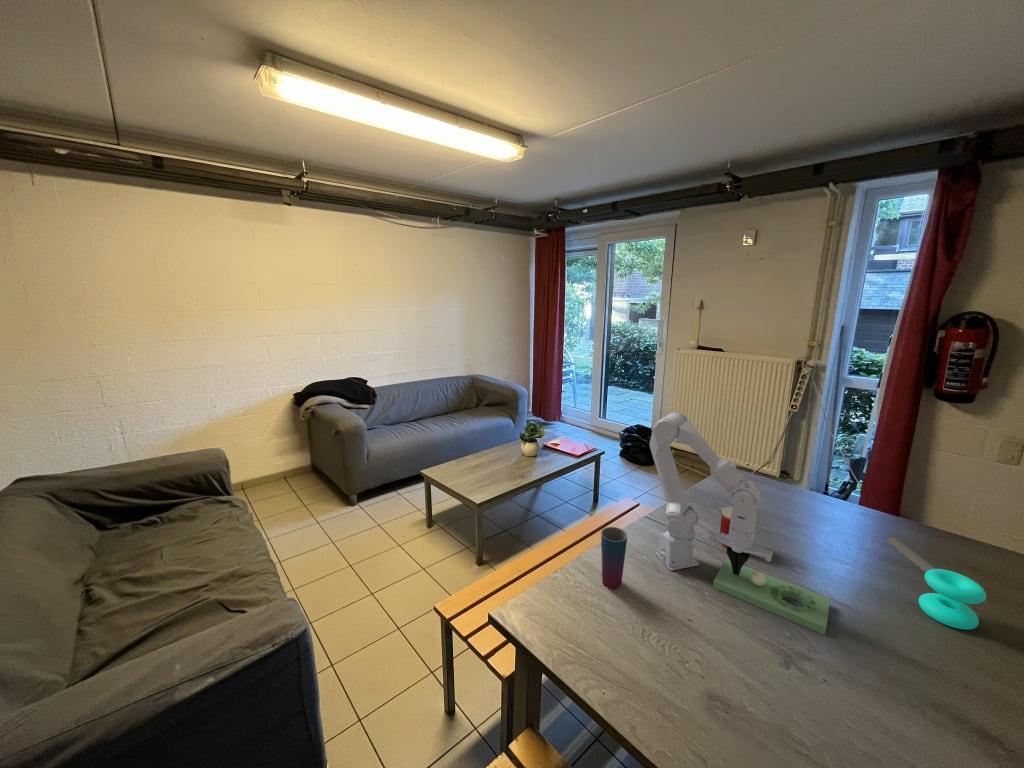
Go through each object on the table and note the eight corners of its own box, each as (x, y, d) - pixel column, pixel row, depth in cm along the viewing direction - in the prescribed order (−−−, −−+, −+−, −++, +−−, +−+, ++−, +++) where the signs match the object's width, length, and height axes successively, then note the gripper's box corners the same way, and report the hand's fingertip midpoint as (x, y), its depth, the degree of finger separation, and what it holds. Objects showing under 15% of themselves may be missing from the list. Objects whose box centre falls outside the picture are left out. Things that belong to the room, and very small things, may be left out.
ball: (757, 590, 104) (758, 578, 104) (746, 580, 108) (747, 569, 107) (768, 587, 105) (769, 575, 104) (757, 578, 108) (758, 567, 108)
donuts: (943, 563, 102) (998, 590, 92) (934, 597, 104) (988, 627, 95) (915, 570, 99) (969, 599, 90) (907, 605, 101) (959, 637, 92)
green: (712, 587, 108) (713, 580, 108) (724, 564, 117) (725, 558, 117) (825, 635, 93) (826, 627, 92) (828, 605, 102) (830, 598, 101)
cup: (595, 586, 109) (597, 537, 106) (602, 571, 115) (604, 524, 111) (621, 595, 106) (624, 544, 102) (627, 579, 112) (630, 530, 108)
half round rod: (899, 542, 128) (900, 537, 127) (954, 585, 109) (956, 580, 108) (884, 541, 128) (885, 536, 128) (936, 584, 109) (938, 578, 109)
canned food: (752, 552, 122) (756, 520, 120) (724, 551, 123) (727, 519, 121) (742, 537, 130) (745, 506, 127) (715, 536, 131) (718, 505, 128)
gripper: (708, 524, 108) (703, 568, 111) (771, 545, 99) (764, 593, 102) (715, 513, 113) (710, 556, 116) (776, 533, 104) (769, 578, 107)
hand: (736, 572), depth 109 cm, fingers closed
